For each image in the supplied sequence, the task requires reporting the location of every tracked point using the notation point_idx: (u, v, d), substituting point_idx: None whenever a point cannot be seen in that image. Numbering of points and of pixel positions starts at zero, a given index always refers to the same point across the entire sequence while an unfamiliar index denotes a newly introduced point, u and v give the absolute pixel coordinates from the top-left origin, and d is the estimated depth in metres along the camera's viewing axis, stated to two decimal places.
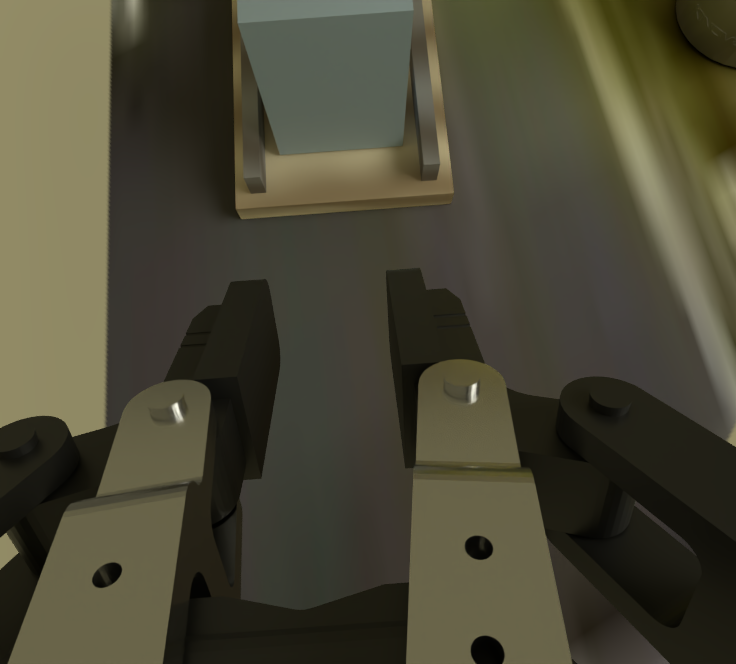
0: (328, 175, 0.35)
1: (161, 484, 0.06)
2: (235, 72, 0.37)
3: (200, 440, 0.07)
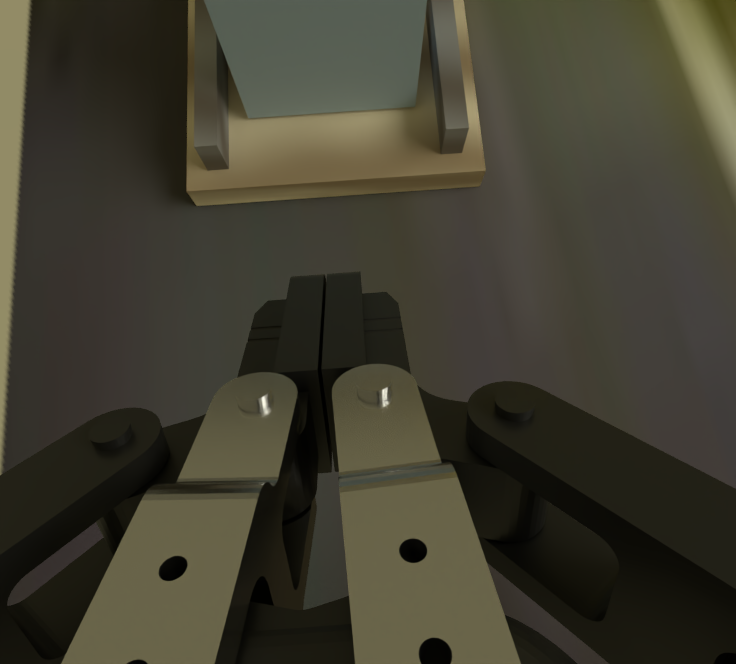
0: (314, 146, 0.26)
1: (238, 479, 0.06)
2: (191, 10, 0.28)
3: (281, 438, 0.07)
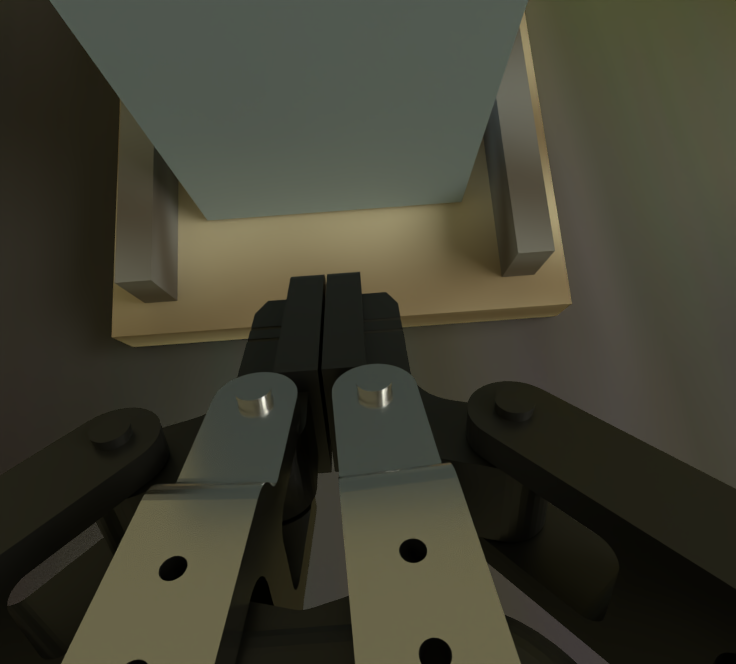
0: (307, 264, 0.17)
1: (238, 478, 0.06)
2: None
3: (281, 438, 0.07)
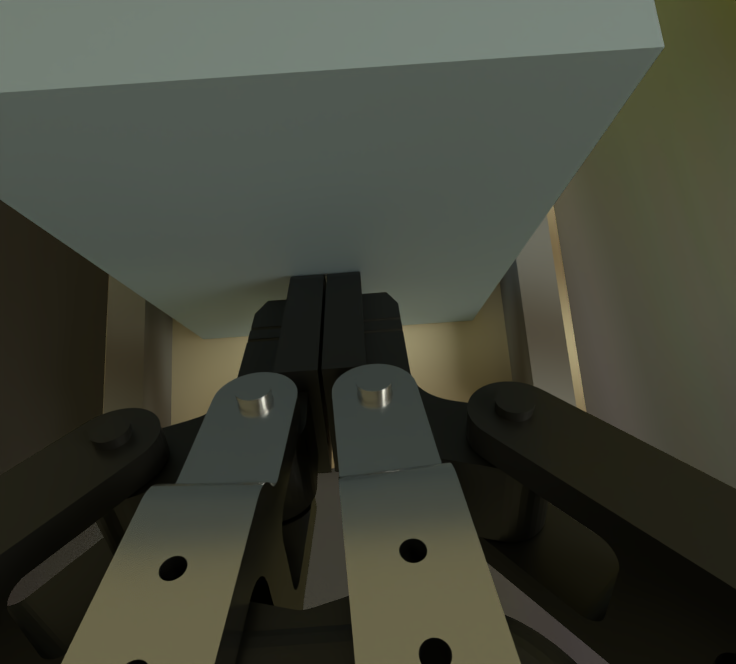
0: None
1: (238, 479, 0.06)
2: None
3: (281, 438, 0.07)
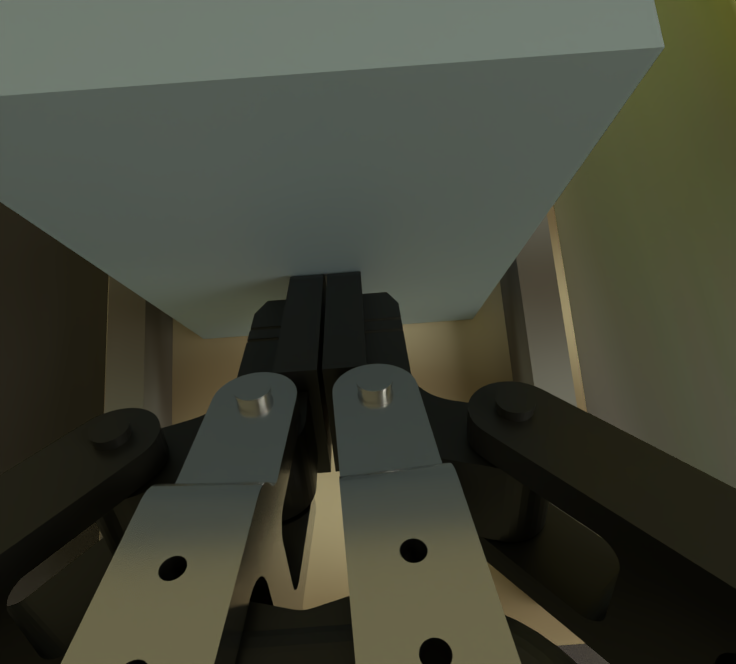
0: (320, 586, 0.15)
1: (238, 479, 0.06)
2: None
3: (281, 438, 0.07)
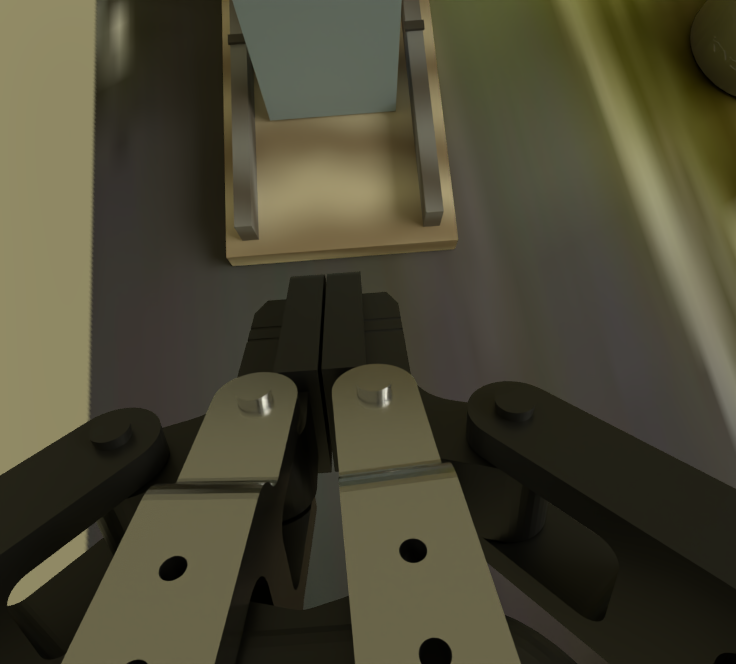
0: (324, 221, 0.33)
1: (238, 479, 0.06)
2: (226, 109, 0.35)
3: (281, 438, 0.07)
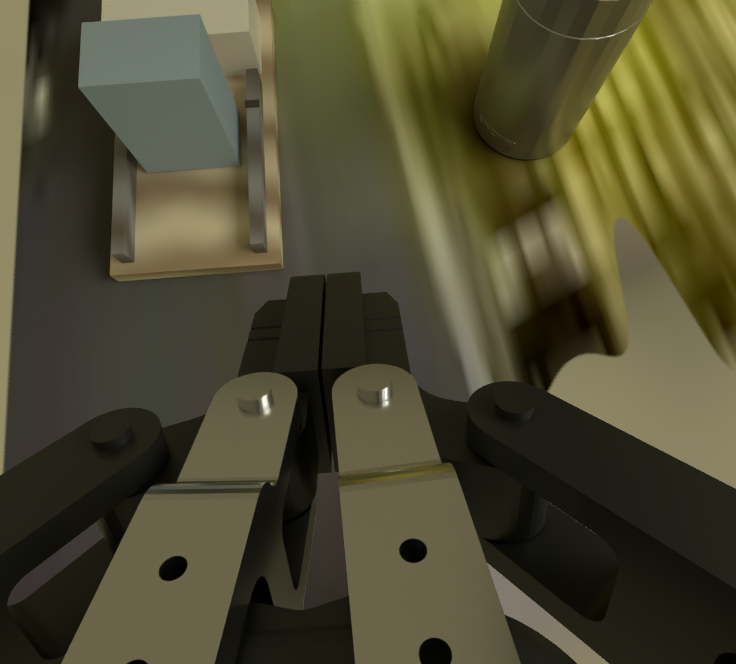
0: (183, 248, 0.45)
1: (238, 479, 0.06)
2: None
3: (281, 438, 0.07)
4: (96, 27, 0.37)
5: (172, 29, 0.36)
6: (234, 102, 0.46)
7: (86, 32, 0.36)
